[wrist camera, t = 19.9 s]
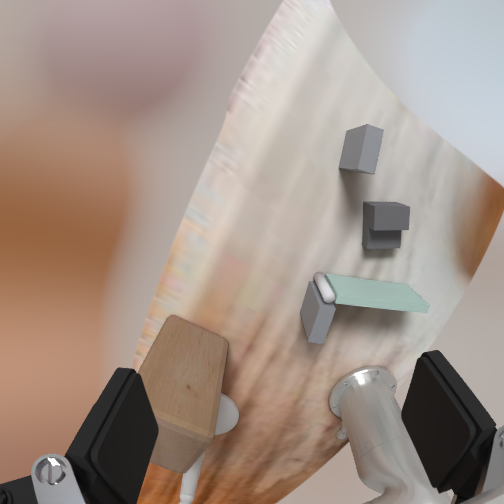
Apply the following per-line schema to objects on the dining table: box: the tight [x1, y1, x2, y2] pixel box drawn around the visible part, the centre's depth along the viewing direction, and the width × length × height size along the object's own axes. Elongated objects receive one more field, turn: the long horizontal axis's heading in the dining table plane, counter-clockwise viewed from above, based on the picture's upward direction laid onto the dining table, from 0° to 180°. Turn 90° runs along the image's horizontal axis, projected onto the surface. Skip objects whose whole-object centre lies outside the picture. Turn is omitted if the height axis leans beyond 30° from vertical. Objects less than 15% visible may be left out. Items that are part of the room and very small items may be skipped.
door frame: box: [300, 124, 384, 344], centre depth 36 cm, size 26×2×8 cm, turn 168°
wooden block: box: [138, 315, 228, 473], centre depth 36 cm, size 10×10×20 cm
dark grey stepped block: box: [362, 202, 410, 249], centre depth 38 cm, size 6×5×4 cm
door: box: [314, 272, 430, 313], centre depth 39 cm, size 15×1×7 cm, turn 81°
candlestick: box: [179, 393, 239, 504], centre depth 36 cm, size 13×13×30 cm
